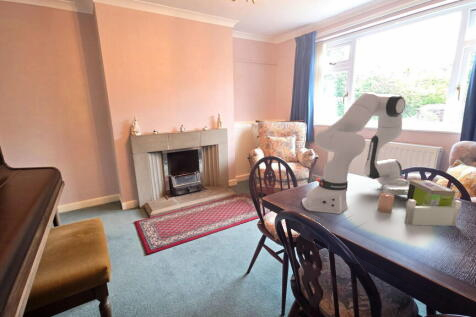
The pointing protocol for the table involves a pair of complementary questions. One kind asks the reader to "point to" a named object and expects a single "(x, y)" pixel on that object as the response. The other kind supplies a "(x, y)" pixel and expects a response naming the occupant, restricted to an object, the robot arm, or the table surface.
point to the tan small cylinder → (385, 202)
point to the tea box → (429, 193)
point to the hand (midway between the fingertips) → (414, 195)
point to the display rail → (432, 214)
